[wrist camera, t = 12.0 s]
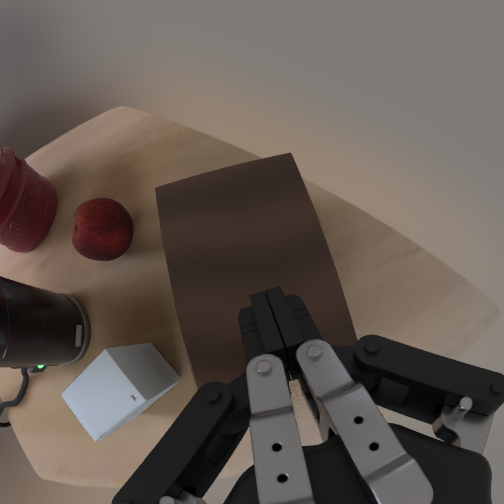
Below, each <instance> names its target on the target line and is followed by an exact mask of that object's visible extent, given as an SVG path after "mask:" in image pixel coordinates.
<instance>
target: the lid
mask: <svg viewBox="0 0 504 504" xmlns="http://www.w3.org/2000/svg"><path fill="white" fill-rule="evenodd" d="M155 191H156V199H157V207H158V214H159V220H160V227H161V233H162V239H163V245H164V251H165V256H166V262H167V267H168V272H169V277H170V282H171V287H172V292H173V297H174V301H175V306H176V310H177V314H178V319H179V323H180V327H181V331H182V335H183V339H184V343H185V347H186V351H187V354H188V358H189V362H190V365H191V369H192V372H193V376H194V379H195V383H196V386H197V389H198V390H199V388H200V387H202V386H203V385H204V384H206V383H209V382H213V381H219V382H223V383H225V384H227V383H229V382H231V381H233V380H235V379H236V378H238V377H239V376H240V375H241V374H242V373H243V372H244V370H245V368H246V365H247V359H246V355H245V350H244V346H243V341H242V336H241V331H240V327H239V322H238V315H239V312H240V309H242V308H245V307H249V306H252V305H251V301H250V298H249V295H251V294H254V293H258V292H262V291H264V292H265V290H268V289H272V288H275V287H279V286H280V287H281V288H282V291H283V293H284V295H285V296H288V295H291V294H296V295H297V296H299V297H300V298H301V299H302V300H303V302H304V303H305V305H306V308H307V309H308V311H309V313H310V315H311V317H312V319H313V321H314V323H315V325H316V327H317V328H318V330H319V332H320V334H321V336H322V338H323V339H324V340H325V341H326V342H327V343H329V344H331V345H334V346H353V345H355V344H356V342H357V337H356V334H355V330H354V327H353V323H352V320H351V316H350V313H349V310H348V306H347V303H346V300H345V296H344V293H343V290H342V287H341V284H340V281H339V278H338V275H337V272H336V269H335V266H334V263H333V260H332V257H331V254H330V251H329V248H328V245H327V242H326V240H325V237H324V234H323V231H322V229H321V226H320V223H319V221H318V218H317V215H316V213H315V210H314V207H313V205H312V202H311V200H310V197H309V195H308V192H307V190H306V187H305V185H304V182H303V180H302V177H301V175H300V172H299V170H298V168H297V166H296V163H295V161H294V158H293V156H292V154H291V153H287V154H282V155H277V156H272V157H268V158H263V159H259V160H254V161H250V162H246V163H242V164H238V165H234V166H230V167H226V168H222V169H218V170H214V171H211V172H207V173H203V174H200V175H196V176H193V177H189V178H186V179H183V180H179V181H176V182H173V183H169V184H166V185H163V186H160V187H157V188H155ZM265 295H266V294H265Z"/></svg>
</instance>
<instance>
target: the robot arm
mask: <svg viewBox="0 0 504 504" xmlns="http://www.w3.org/2000/svg"><path fill="white" fill-rule="evenodd" d="M265 294H266V295H265ZM249 298H250V301H251V305H252V306H249V307H245V308H242V309H240V312H239V315H238V322H239V327H240V331H241V336H242V341H243V346H244V350H245V355H246V359H247V365H246V368H245V370H244V372H243V373H242V374H241V375H240V376H239V377H238V378H236V379H235V380H233V381H231V382H229V383H227V384H225V383H223V382H219V381H213V382H209V383H206V384H204V385H203V386H202V387H200V388H199V390H198V391H197V392H196V394H195V395H194V396H193V398H192V399H191V400H190V402H189V403H188V404H187V406H186V407H185V408H184V410H183V411H182V412H181V414H180V415H179V416H178V418H177V419H176V420H175V422H174V423H173V424H172V425H171V427H170V428H169V429H168V431H167V432H166V433H165V435H164V436H163V437H162V438H161V440H160V441H159V442H158V444H157V445H156V446H155V447H154V449H153V450H152V451H151V452H150V454H149V455H148V456H147V457H146V459H145V460H144V461H143V462H142V464H141V465H140V466H139V467H138V469H137V470H136V471H135V472H134V474H133V475H132V476H131V477H130V478H129V480H128V481H127V482H126V483H125V484H124V486H123V487H122V488H121V489H120V491H119V492H118V493H117V494H116V495H115V496H114V498H113V500H112V504H206V502H205V501H204V500H203V499H202V497H203V496H204V495H205V493H206V492H207V490H208V489H209V488H210V486H211V485H212V483H213V482H214V481H215V479H216V478H217V476H218V475H219V473H220V472H221V470H222V469H223V467H224V466H225V464H226V463H227V461H228V460H229V458H230V457H231V455H232V454H233V452H234V450H235V449H236V447H237V446H238V444H239V443H240V441H241V439H242V438H243V436H244V434H245V433H246V431H247V429H248V427H250V435H251V443H252V451H253V459H254V465H252V466H251V467H250V468H248V469H247V470H246V471H245V472H244V473H243V474H242V475H241V476H240V478H239V479H238V481H237V482H236V484H235V485H234V487H233V489H232V490H231V492H230V494H229V495H228V497H227V498H226V500H225V502H224V503H223V504H492V500H491V480H492V472H491V468H490V465H489V463H488V461H487V460H486V458H485V457H484V456H482V453H483V450H484V447H485V444H486V441H487V438H488V434H489V431H490V427H491V424H492V420H493V416H494V413H495V411H496V410H497V409H498V408H499V407H500V406H501V405H502V404H503V403H504V375H502V374H501V373H498V372H494V371H491V370H487V369H484V368H480V367H476V366H473V365H470V364H466V363H463V362H459V361H456V360H453V359H449V358H446V357H443V356H440V355H436V354H433V353H430V352H427V351H424V350H421V349H418V348H414V347H411V346H408V345H405V344H402V343H399V342H396V341H393V340H390V339H387V338H384V337H381V336H378V335H366V336H364V337H362V338H360V339H359V340H358V341H357V342H356V344H355V345H353V346H334V345H331V344H329V343H327V342H326V341H325V340H324V339H323V338H322V336H321V334H320V332H319V330H318V328H317V327H316V325H315V323H314V321H313V319H312V317H311V315H310V313H309V311H308V309H307V308H306V305H305V303H304V302H303V300H302V299H301V298H300V297H299V296H297V295H296V294H291V295H288V296H285V295H284V293H283V291H282V288H281V287H280V286H279V287H275V288H272V289H268V290H265V292H264V291H262V292H258V293H254V294H251V295H249ZM89 339H90V327H89V321H88V317H87V314H86V312H85V310H84V308H83V307H82V305H81V304H80V303H79V301H78V300H76V299H75V298H74V297H72V296H69V295H66V294H58V293H55V292H51V291H48V290H44V289H40V288H37V287H33V286H30V285H26V284H23V283H20V282H16V281H13V280H10V279H7V278H4V277H1V276H0V367H11V368H13V369H18V368H21V373H22V375H23V383H22V386H21V389H20V391H19V393H18V395H17V397H16V398H15V399H14V400H13V401H7V402H3V403H2V404H1V405H0V415H1V413H2V411H3V410H4V408H6V407H12V406H16V405H18V404H19V402H20V401H21V400H22V398H23V396H24V394H25V391H26V388H27V385H28V380H29V376H28V374H27V368H28V370H29V372H30V373H37V372H43V371H44V370H45V369H46V368H47V367H48V366H57V365H59V364H72V363H75V362H77V361H78V360H80V359H81V358H82V357H83V355H84V354H85V352H86V350H87V347H88V344H89ZM289 371H290V373H289ZM290 374H291V377H292V380H295V379H298V380H299V383H300V386H301V391H302V395H303V397H304V399H305V401H306V403H307V405H308V407H309V409H310V411H311V414H312V416H313V418H314V420H315V422H316V424H317V426H318V429H319V432H320V435H321V438H322V440H323V443H322V444H319V445H312V446H302V445H301V440H300V436H299V432H298V427H297V423H296V419H295V414H294V410H293V406H292V402H291V392H290V387H289V382H288V381H291V378H290ZM376 405H379V406H381V407H384V408H386V409H389V410H392V411H394V412H397V413H400V414H403V415H405V416H408V417H411V418H414V419H416V420H419V421H422V422H425V423H429V424H431V425H433V426H432V427H433V432H434V434H435V435H436V437H438V438H440V439H441V440H443V441H445V442H443V441H440V440H437V439H434V438H432V437H429V436H427V435H424V434H421V433H419V432H416V431H414V430H411V429H408V428H406V427H404V426H401V425H397V424H394V423H387V421H386V420H385V418H384V417H383V415H382V413H381V412H380V410H379V409H378V407H377V406H376ZM9 426H11V423H10V422H6V423H0V427H9Z"/></svg>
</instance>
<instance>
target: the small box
mask: <svg viewBox="0 0 504 504" xmlns="http://www.w3.org/2000/svg"><path fill="white" fill-rule="evenodd" d="M180 380H181V377H180V376H179V375H178V374H177V373H176V372H175V371H174V369H173V368H172V367H171V366H170V365H169V364H168V362H167V361H166V360H165V359H164V358H163V357H162V355H161V354H160V353H159V352H158V351H157V349H156V348H155V347H154V346H153V344H152V343H144V344H136V345H128V346H119V347H110V348H104V349H103V351H102V352H101V353H100V354H99V355H98V356H97V357H96V358H95V359H94V360H93V361H92V362H91V363H90V364H89V365H88V366H87V367H86V368H85V369H84V370H83V371H82V372H81V373H80V374H79V375H78V376H77V377H76V378H75V379H74V380H73V382H72V383H71V384H70V385H69V386H68V387H67V388H66V389H65V390H64V391H63V392H62V393H61V395H62V397H63V398H64V400H65V401H66V403H67V404H68V406H69V407H70V409H71V410H72V411H73V413H74V414H75V416H76V417H77V418H78V420H79V421H80V422H81V424H82V425H83V426H84V428H85V429H86V430H87V432H88V433H89V434H90V435H91V437H92V438H93V439H94V440H95V441H96V442H97V441H99V440H101V439H102V438H104V437H106V436H107V435H109V434H110V433H112V432H114V431H115V430H117V429H118V428H120V427H121V426H123V425H124V424H126V423H127V422H129V421H130V420H132V419H134V418H135V417H137V416H138V415H139V414H141V413H142V412H143V411H144V410H145V409H147V408H148V407H149V406H150V405H151V404H153V403H154V402H155V401H156V400H157V399H159V398H160V397H161V396H162V395H163V394H165V393H166V392H167V391H168V390H169V389H171V388H172V387H173V386H174V385H175V384H176V383H178V382H179V381H180Z"/></svg>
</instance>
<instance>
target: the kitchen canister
mask: <svg viewBox="0 0 504 504" xmlns="http://www.w3.org/2000/svg"><path fill="white" fill-rule="evenodd" d="M56 204H57V198H56V192H55V190H54V188H53V186H52V185H51V183H50V182H49V181H48V180H47V179H46V178H45V177H43V176H41V175H39V174H38V173H37V172H36V171H35V170H34V169H32V168H31V167H30V166H29V165H28V164H27V163H26V161H25V160H24V159H23V158H20V157H15V156H14V151H13V149H12V148H11V147H8V146H6V147H2V148H0V244H2V245H4V246H6V247H7V248H8V249H10V250H13V251H15V252H22V253H25V252H29V251H31V250H33V249H34V248H35V247H37V246H38V245H39V244H40V242H41V241H42V240H43V239H44V237H45V236H46V234H47V232H48V230H49V229H50V226H51V224H52V221H53V219H54V215H55V211H56Z"/></svg>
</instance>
